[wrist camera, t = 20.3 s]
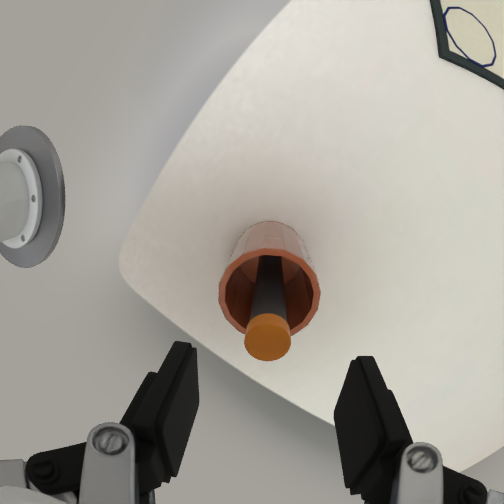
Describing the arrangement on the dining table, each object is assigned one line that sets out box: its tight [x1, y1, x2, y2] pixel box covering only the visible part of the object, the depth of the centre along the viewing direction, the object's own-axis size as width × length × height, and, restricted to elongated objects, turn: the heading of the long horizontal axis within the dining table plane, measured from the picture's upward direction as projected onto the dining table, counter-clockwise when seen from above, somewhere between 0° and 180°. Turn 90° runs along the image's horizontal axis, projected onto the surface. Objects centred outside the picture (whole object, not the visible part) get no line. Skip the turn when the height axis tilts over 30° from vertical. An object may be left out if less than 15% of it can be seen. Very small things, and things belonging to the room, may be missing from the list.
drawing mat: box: [430, 0, 504, 89], centre depth 14 cm, size 17×17×1 cm
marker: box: [244, 255, 291, 361], centre depth 18 cm, size 2×2×12 cm
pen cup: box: [219, 221, 321, 336], centre depth 20 cm, size 6×6×8 cm
